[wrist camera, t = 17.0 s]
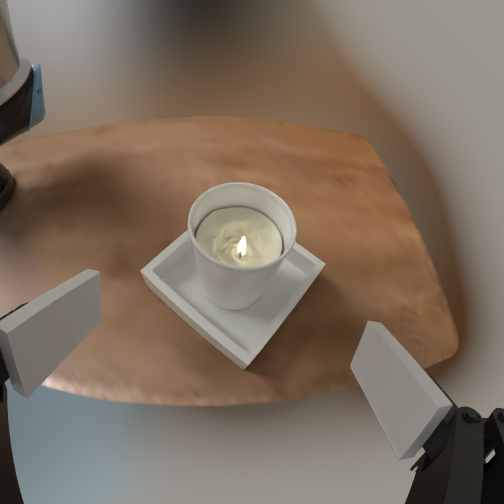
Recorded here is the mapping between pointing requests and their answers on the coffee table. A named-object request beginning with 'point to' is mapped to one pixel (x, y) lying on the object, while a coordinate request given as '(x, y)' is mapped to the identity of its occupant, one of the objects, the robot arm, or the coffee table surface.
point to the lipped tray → (222, 320)
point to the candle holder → (239, 241)
